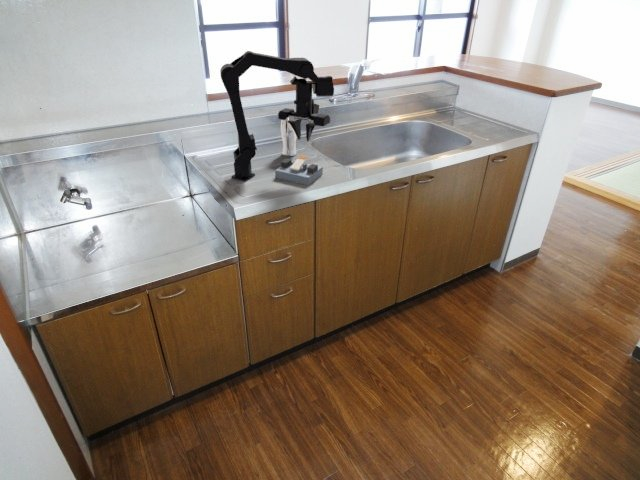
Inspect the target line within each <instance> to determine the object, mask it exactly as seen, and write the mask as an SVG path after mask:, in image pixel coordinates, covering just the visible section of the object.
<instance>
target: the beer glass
mask: <svg viewBox="0 0 640 480" xmlns="http://www.w3.org/2000/svg"><path fill="white" fill-rule="evenodd" d="M288 121H289V117H287V119H286V120H281V119H280V135H281V139H282V140H281V141H282V153H281V154H282V155H283V156H286V157H293V156H296V155H297V147H296V144H297V139H298V138H297V136H296V134H295V131H294V130H293V128H292V126H291V124H290V123H288Z"/></svg>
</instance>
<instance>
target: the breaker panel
mask: <svg viewBox="0 0 640 480" xmlns="http://www.w3.org/2000/svg"><path fill="white" fill-rule="evenodd" d="M291 160H292V159H291ZM295 161H296V160H292V165H293V163H294V162H295ZM311 164H312V163H306V162H305V163H304V164H303V166H302V167H301V169H300V170H299V171H295V170H291V169H290V167H291V166H292V165H290V166H289V167H287V168H284V167H281V166H279V167H278V168H277V169H275V170H274V174H275V175H274V177H275V178H276V179H279V180H284V181H287V182H292V183H297V184H300V185H306V186H309V185H311V184H312V183H313V182H314V181H315V180H317V179H318V178H320V176H322V175H323V171H324V170H323V168H324V166H321V165H318V170H317V171H316V172H315V173H313V174H312V173H307V167H309V166H310V165H311Z"/></svg>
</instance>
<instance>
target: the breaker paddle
mask: <svg viewBox="0 0 640 480" xmlns="http://www.w3.org/2000/svg"><path fill="white" fill-rule="evenodd" d="M308 159H309V156H306V155H302V154H300V155H298V156H297V159H295V160H294V161H295V162H294V163H293V165H292V166H291V167H290V169H291V170H295V171H299V170H300V169H301V167H302V166H303V164H304V163H306V162H307V161H308Z"/></svg>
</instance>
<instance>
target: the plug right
mask: <svg viewBox="0 0 640 480" xmlns="http://www.w3.org/2000/svg"><path fill="white" fill-rule="evenodd" d="M310 164H311V165H310V166H309V167H307V173H312V174H313V173H315V172H316V171H317V170H318V166H319V164H314V163H310Z"/></svg>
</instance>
